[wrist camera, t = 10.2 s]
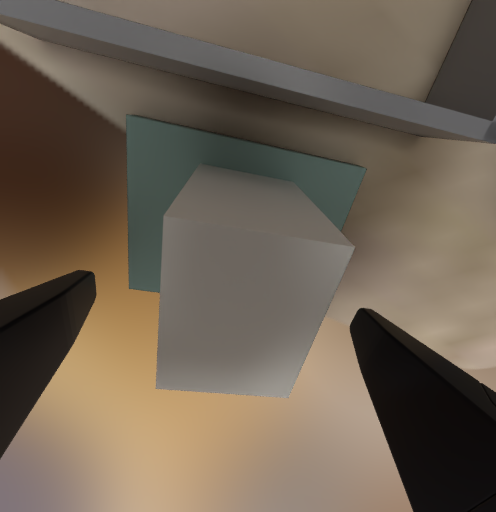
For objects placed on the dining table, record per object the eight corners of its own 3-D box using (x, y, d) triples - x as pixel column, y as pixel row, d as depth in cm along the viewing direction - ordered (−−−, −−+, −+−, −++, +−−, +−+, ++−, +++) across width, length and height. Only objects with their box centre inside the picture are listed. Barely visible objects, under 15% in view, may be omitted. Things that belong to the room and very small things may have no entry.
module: (293, 181, 12) (355, 247, 6) (265, 283, 15) (288, 397, 9) (199, 163, 12) (163, 215, 5) (188, 272, 14) (155, 388, 8)
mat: (357, 165, 13) (366, 168, 12) (303, 301, 17) (307, 311, 16) (134, 114, 11) (126, 114, 10) (134, 278, 16) (128, 288, 15)
